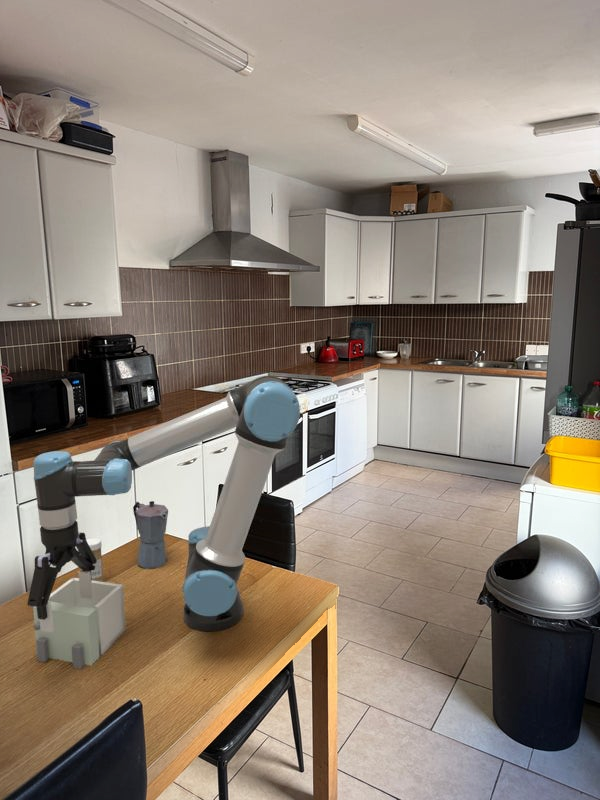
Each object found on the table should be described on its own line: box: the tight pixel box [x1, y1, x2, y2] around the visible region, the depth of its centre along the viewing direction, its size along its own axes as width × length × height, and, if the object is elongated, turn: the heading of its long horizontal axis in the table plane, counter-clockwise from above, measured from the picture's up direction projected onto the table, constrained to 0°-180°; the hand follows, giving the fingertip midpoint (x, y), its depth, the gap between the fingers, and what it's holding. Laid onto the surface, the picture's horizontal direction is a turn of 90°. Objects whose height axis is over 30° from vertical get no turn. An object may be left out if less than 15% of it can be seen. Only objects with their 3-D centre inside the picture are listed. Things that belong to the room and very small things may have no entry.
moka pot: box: [132, 500, 169, 569], centre depth 169 cm, size 10×15×20 cm, turn 58°
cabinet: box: [35, 577, 127, 670], centre depth 129 cm, size 14×15×12 cm
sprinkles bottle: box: [86, 537, 104, 582], centre depth 156 cm, size 5×5×13 cm
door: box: [32, 601, 100, 667], centre depth 124 cm, size 14×4×12 cm, turn 76°
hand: (68, 613), depth 124 cm, fingers open, 13 cm apart
